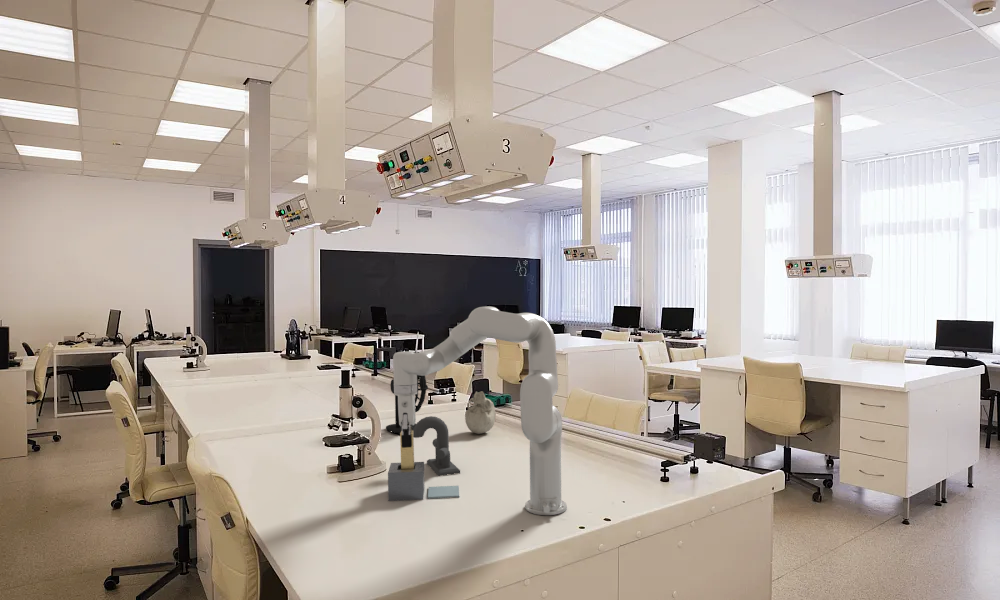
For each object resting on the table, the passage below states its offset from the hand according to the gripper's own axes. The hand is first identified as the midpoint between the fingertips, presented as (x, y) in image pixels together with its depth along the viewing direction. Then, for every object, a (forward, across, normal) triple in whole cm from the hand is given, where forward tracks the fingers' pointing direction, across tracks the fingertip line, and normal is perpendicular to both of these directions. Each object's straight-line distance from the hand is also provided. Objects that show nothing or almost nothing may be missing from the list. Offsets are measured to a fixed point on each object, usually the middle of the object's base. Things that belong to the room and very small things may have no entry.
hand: (407, 444), depth 196 cm
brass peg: (+8, 0, 0) cm, 8 cm away
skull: (+16, +82, -28) cm, 89 cm away
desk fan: (+16, +93, +7) cm, 95 cm away
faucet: (+17, +27, -7) cm, 33 cm away
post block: (+16, 0, +1) cm, 16 cm away
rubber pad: (+16, 0, -11) cm, 20 cm away
